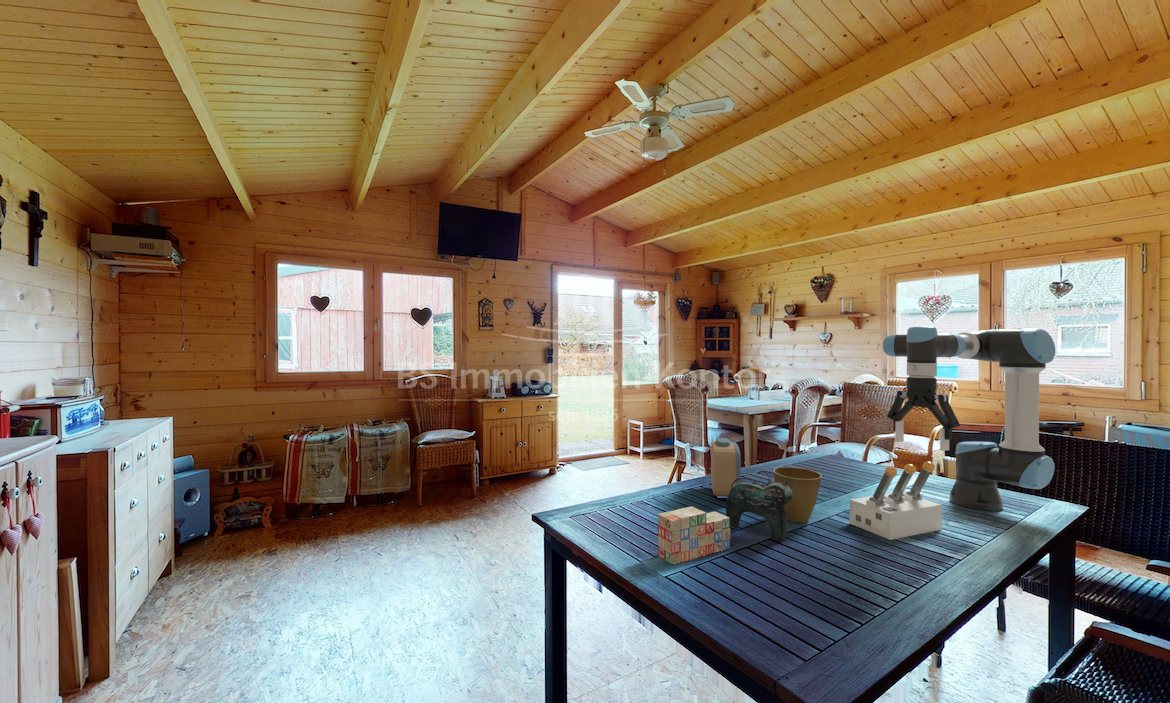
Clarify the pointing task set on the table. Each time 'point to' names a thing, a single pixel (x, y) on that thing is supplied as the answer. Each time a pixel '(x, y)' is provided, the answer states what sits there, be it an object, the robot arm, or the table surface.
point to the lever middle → (903, 482)
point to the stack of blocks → (691, 534)
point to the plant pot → (799, 491)
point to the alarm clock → (724, 466)
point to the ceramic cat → (760, 504)
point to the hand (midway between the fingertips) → (921, 445)
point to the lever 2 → (921, 479)
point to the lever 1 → (884, 485)
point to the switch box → (896, 516)
